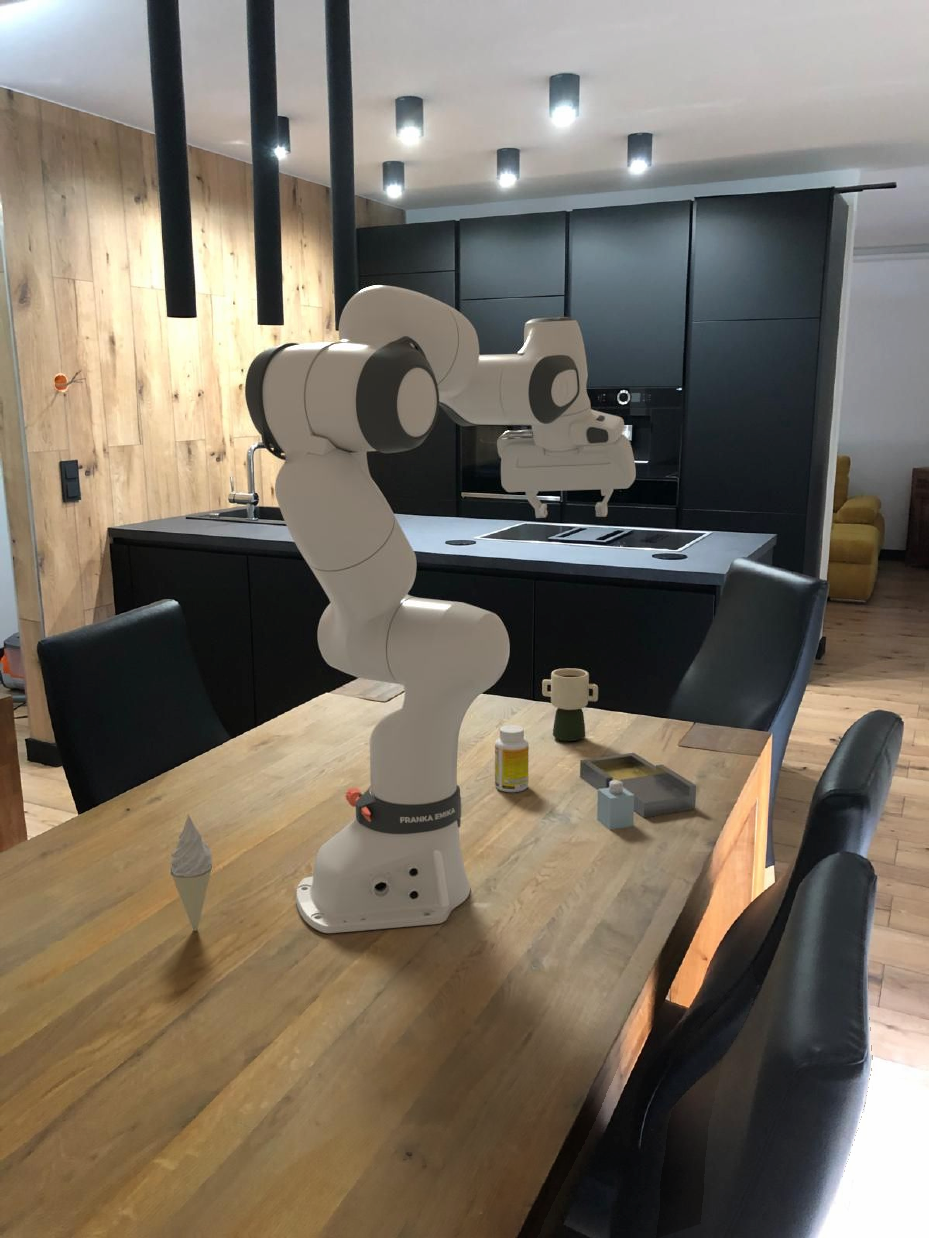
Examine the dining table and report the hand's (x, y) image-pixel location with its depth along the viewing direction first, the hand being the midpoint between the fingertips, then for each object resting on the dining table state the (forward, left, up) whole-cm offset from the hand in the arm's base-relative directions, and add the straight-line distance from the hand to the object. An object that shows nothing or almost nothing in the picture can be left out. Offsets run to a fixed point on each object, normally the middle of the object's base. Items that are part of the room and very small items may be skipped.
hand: (571, 516), depth 153 cm
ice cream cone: (-61, -22, -46) cm, 79 cm away
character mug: (+13, +26, -46) cm, 54 cm away
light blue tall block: (+2, -12, -46) cm, 47 cm away
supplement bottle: (-7, +7, -46) cm, 47 cm away
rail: (+11, -3, -46) cm, 47 cm away
